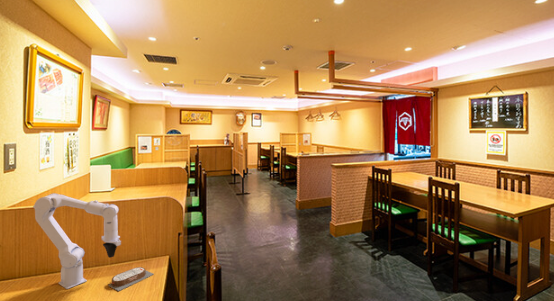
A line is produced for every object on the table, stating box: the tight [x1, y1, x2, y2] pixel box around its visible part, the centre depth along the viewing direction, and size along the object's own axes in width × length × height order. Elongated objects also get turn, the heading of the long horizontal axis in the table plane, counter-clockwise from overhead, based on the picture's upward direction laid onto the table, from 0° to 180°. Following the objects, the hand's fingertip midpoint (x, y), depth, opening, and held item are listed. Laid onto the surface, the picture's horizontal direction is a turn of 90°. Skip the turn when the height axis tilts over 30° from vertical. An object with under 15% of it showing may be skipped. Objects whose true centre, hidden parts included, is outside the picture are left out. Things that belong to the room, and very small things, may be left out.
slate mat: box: [107, 270, 155, 292], centre depth 122 cm, size 9×17×1 cm, turn 149°
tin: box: [110, 266, 147, 287], centre depth 122 cm, size 15×3×8 cm
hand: (111, 256), depth 124 cm, fingers closed
